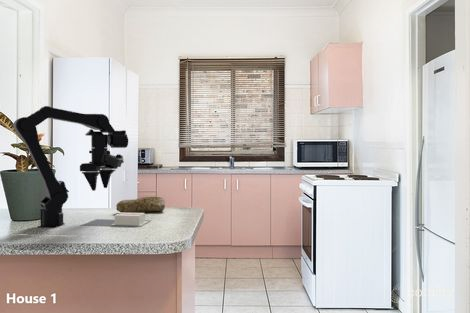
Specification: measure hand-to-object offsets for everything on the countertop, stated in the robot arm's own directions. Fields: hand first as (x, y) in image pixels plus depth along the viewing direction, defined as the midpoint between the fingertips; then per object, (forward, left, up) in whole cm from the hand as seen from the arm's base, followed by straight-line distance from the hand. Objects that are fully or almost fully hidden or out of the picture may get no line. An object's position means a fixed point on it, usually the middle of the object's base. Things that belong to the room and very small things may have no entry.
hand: (99, 189), depth 145 cm
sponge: (+8, +20, -12) cm, 25 cm away
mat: (+9, -5, -12) cm, 16 cm away
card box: (+14, -5, -12) cm, 19 cm away
